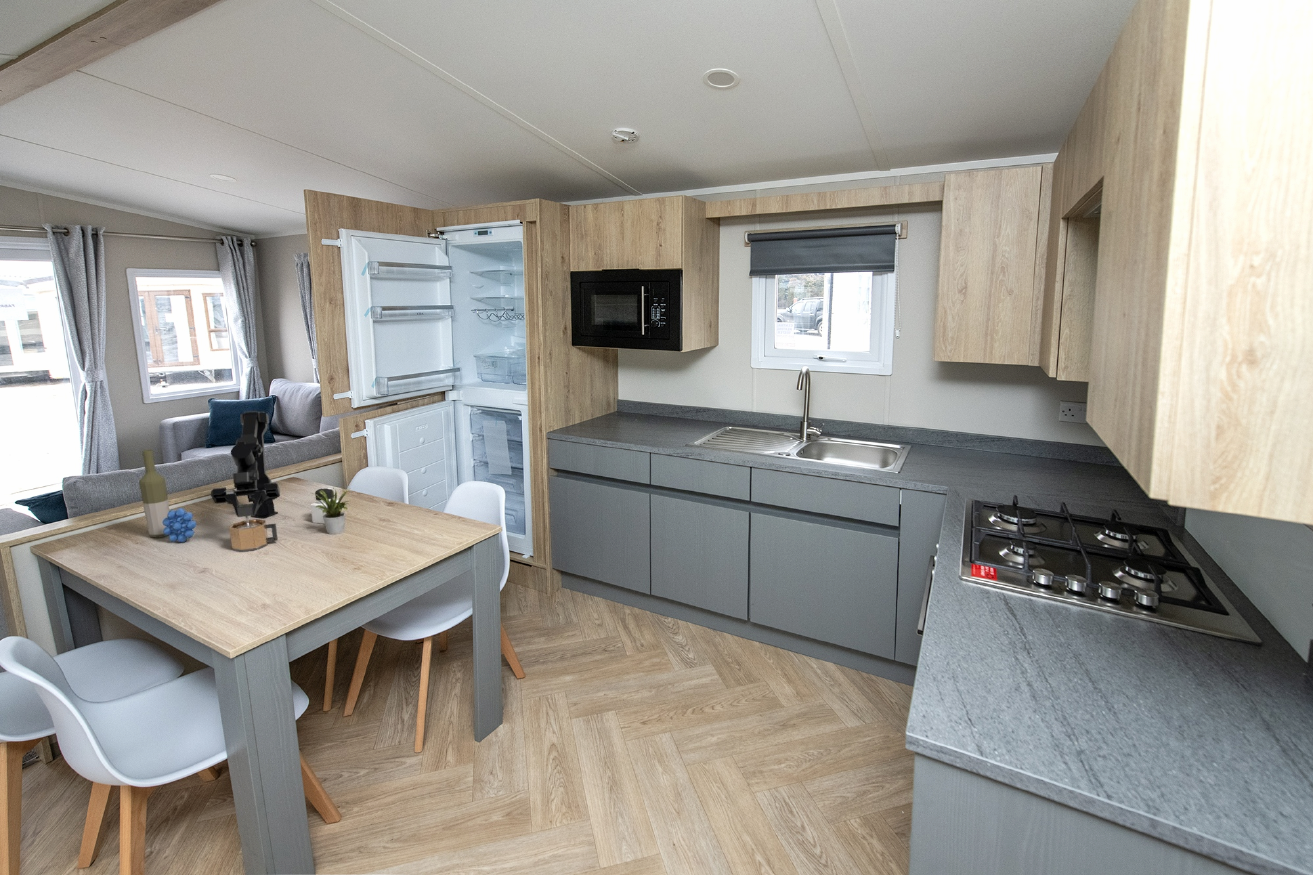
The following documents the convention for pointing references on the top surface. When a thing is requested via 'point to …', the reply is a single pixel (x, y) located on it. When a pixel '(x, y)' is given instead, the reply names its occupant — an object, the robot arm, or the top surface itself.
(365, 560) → the top surface
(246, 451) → the robot arm
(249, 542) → the octagonal wooden mug
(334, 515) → the house plant
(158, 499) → the bottle
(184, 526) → the grapes
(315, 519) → the medicine bottle
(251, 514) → the grey cube on disc
